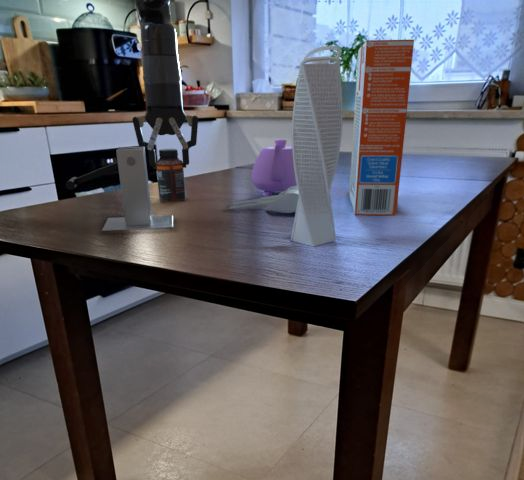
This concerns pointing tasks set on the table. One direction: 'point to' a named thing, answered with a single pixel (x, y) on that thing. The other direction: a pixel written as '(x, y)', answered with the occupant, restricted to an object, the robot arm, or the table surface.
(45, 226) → the table surface
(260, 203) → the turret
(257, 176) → the teapot
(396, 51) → the orange cereal box
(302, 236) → the skyscraper
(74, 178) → the lever
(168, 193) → the supplement bottle
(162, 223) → the upright plaque on base
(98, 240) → the table surface
